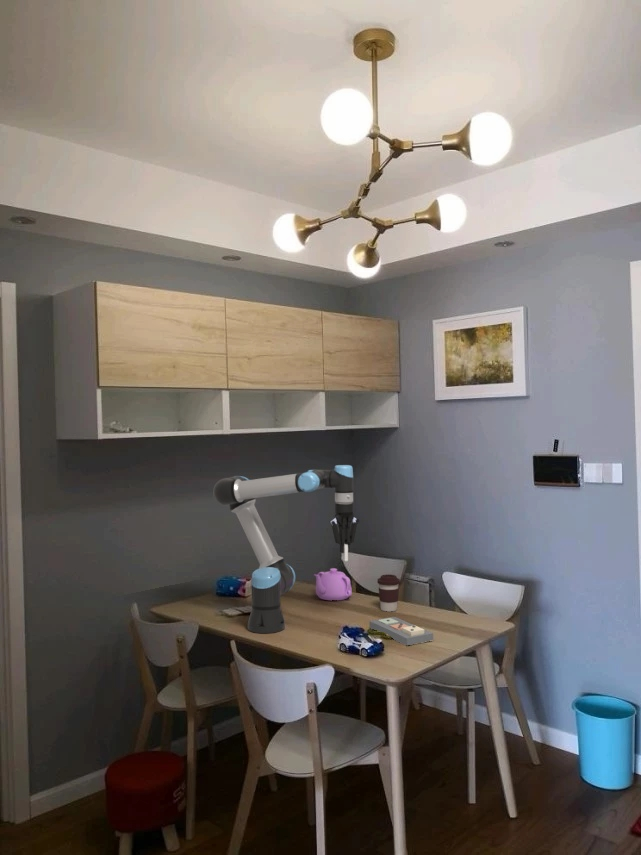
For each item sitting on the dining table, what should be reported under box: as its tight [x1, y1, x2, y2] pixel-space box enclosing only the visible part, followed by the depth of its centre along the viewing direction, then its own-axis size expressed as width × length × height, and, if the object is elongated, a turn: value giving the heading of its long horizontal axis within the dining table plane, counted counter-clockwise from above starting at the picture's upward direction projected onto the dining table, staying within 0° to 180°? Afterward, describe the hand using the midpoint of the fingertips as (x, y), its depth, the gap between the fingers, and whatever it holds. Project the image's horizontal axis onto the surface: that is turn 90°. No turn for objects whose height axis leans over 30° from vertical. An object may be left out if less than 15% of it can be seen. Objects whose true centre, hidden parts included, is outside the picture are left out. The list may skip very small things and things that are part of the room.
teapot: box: [313, 567, 353, 601], centre depth 322 cm, size 22×22×14 cm
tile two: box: [402, 625, 425, 636], centre depth 259 cm, size 6×6×3 cm
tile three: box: [390, 623, 409, 630], centre depth 266 cm, size 6×6×3 cm
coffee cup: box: [376, 574, 401, 613], centre depth 302 cm, size 10×10×15 cm
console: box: [368, 616, 434, 646], centre depth 266 cm, size 12×26×3 cm, turn 28°
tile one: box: [378, 617, 399, 625], centre depth 274 cm, size 6×6×3 cm
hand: (344, 560), depth 280 cm, fingers closed
